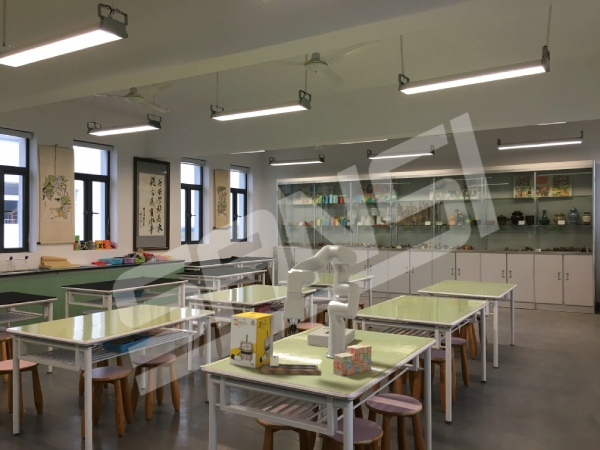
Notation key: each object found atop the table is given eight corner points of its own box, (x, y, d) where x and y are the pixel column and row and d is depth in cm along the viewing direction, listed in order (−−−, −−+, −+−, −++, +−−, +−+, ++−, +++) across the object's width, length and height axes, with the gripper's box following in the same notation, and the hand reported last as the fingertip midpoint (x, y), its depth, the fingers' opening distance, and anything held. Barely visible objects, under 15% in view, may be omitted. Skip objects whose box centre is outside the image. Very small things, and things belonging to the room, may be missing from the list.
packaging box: (272, 361, 257) (274, 314, 258) (255, 368, 243) (257, 318, 243) (247, 357, 265) (249, 311, 265) (229, 363, 250) (231, 315, 251)
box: (321, 336, 330) (306, 345, 300) (322, 325, 331) (307, 333, 301) (355, 340, 323) (343, 350, 292) (355, 329, 323) (343, 337, 293)
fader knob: (278, 365, 241) (278, 355, 241) (278, 367, 236) (278, 358, 236) (270, 365, 241) (270, 355, 241) (270, 367, 236) (270, 358, 236)
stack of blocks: (342, 376, 232) (342, 350, 233) (332, 373, 237) (333, 348, 237) (371, 369, 246) (371, 345, 247) (362, 367, 251) (362, 343, 252)
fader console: (317, 369, 244) (317, 363, 244) (318, 374, 234) (319, 368, 234) (262, 368, 243) (262, 362, 243) (261, 373, 233) (261, 367, 233)
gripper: (308, 294, 244) (307, 331, 244) (279, 294, 244) (278, 330, 243) (309, 296, 237) (308, 334, 236) (279, 296, 236) (278, 333, 236)
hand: (293, 332), depth 240 cm, fingers closed
